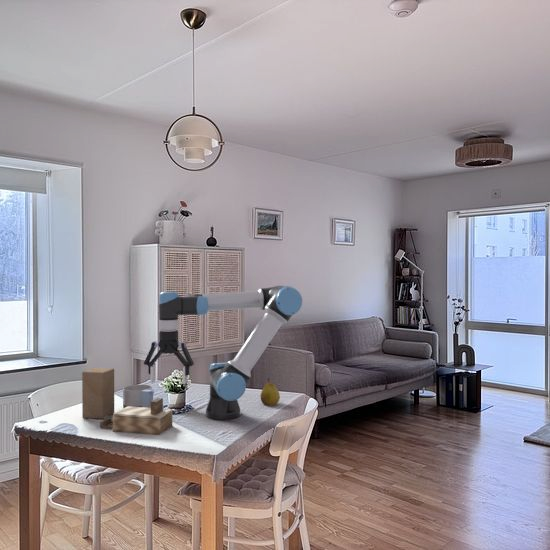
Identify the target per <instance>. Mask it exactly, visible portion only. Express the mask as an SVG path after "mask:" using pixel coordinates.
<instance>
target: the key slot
mask: <svg viewBox="0 0 550 550" xmlns="http://www.w3.org/2000/svg"><path fill="white" fill-rule="evenodd" d="M99 429H102V430H103V429H106V430H113V416H111V417H110V416H108V417H106V418H104V419H102V421H100V422H99Z"/></svg>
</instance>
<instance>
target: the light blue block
mask: <svg viewBox="0 0 550 550" xmlns="http://www.w3.org/2000/svg"><path fill="white" fill-rule="evenodd" d="M141 394H142V407H146V408H151V401H153V400H154V394H155V390H154V389H152V390H149V389H146V390H142V391H141Z"/></svg>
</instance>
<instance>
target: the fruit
mask: <svg viewBox="0 0 550 550" xmlns="http://www.w3.org/2000/svg"><path fill="white" fill-rule="evenodd" d="M267 380H268V382H266V383H265V385H264V386H263V388H262V391H261V392H260V402H261V403H262V404H263V405H265V406H270V407H272V406H276V405H277V404H278V403H279V401H280V398H281V395H280V392H279V390H278V388H277V387H276V386H275V384H274V383H273V382H270V378H267Z"/></svg>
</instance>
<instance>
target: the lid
mask: <svg viewBox="0 0 550 550" xmlns="http://www.w3.org/2000/svg"><path fill="white" fill-rule="evenodd" d="M170 412H172V413H173V409H171V408H164V398H163V397H156V398H155V399H154V398H153V401H151V408H146V407H131V406H127V407H125V408H123V407H122V409H119V410H118V411H116V412H115V411H114V413H113V414H112V417H113V416H126V417H140V418H154V419H161V418H162V417H164V416H165V415H167V414H168V413H170Z"/></svg>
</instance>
